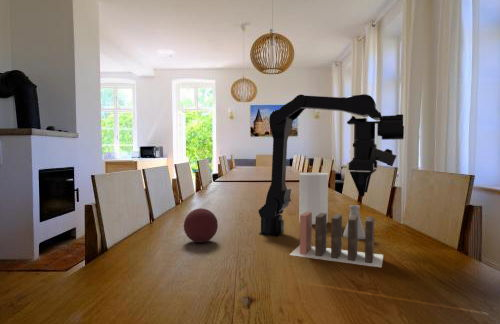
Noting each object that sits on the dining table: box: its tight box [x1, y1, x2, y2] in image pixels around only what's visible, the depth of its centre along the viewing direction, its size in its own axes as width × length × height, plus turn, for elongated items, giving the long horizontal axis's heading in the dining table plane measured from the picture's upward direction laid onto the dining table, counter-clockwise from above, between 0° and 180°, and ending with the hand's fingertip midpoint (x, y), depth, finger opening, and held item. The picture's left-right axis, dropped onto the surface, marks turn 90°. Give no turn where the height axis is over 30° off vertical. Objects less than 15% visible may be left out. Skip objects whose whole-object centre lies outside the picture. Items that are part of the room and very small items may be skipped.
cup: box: [298, 172, 329, 226], centre depth 125 cm, size 11×11×18 cm
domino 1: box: [299, 212, 313, 254], centre depth 88 cm, size 2×6×10 cm, turn 156°
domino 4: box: [347, 215, 358, 261], centre depth 83 cm, size 2×6×10 cm, turn 156°
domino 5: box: [364, 216, 375, 263], centre depth 81 cm, size 2×6×10 cm, turn 156°
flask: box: [342, 204, 365, 240], centre depth 103 cm, size 7×7×10 cm
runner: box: [289, 244, 384, 268], centre depth 85 cm, size 22×10×1 cm, turn 66°
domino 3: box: [330, 213, 343, 259], centre depth 84 cm, size 2×6×10 cm, turn 156°
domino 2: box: [314, 213, 327, 257], centre depth 86 cm, size 2×6×10 cm, turn 156°
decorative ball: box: [183, 207, 219, 244], centre depth 98 cm, size 10×10×10 cm
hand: (363, 194), depth 95 cm, fingers open, 9 cm apart
